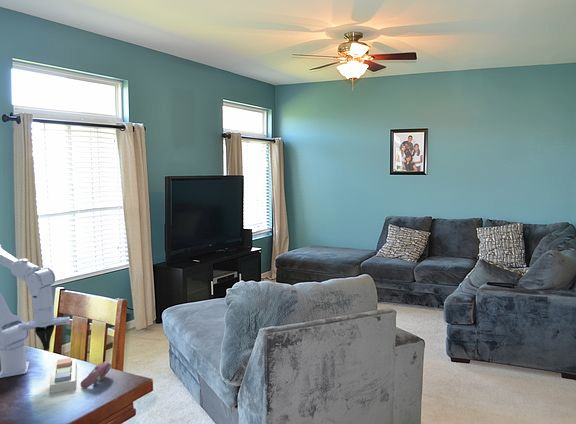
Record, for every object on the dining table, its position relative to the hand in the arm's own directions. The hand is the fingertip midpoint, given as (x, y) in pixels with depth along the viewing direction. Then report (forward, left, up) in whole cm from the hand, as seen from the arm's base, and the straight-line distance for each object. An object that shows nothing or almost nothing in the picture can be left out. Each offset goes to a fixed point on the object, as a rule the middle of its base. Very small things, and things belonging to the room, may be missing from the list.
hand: (46, 348), depth 157 cm
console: (+4, +5, -9) cm, 11 cm away
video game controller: (+10, +14, -10) cm, 20 cm away
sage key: (+4, +5, -9) cm, 10 cm away
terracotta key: (-2, +5, -8) cm, 9 cm away
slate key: (+9, +4, -8) cm, 13 cm away
